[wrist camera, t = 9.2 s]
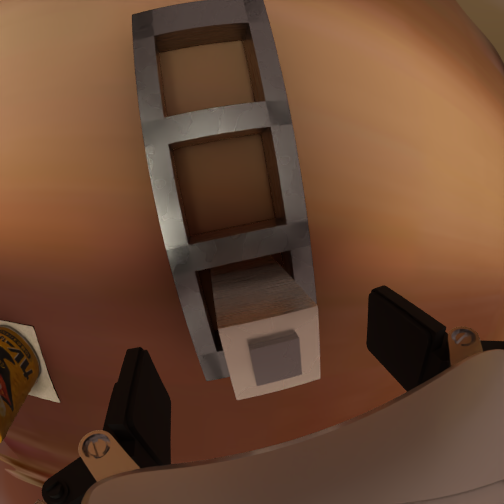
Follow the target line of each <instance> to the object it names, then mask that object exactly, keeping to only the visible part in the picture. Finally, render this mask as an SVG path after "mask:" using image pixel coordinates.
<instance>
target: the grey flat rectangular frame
mask: <svg viewBox="0 0 504 504" xmlns="http://www.w3.org/2000/svg"><path fill="white" fill-rule="evenodd" d="M132 32H133V50H134V64H135V75H136V85H137V95H138V103H139V111H140V119H141V126H142V133H143V139H144V145H145V152H146V157H147V163H148V169H149V174H150V179H151V185H152V190H153V195H154V199H155V204H156V209H157V213H158V218H159V222H160V227H161V231H162V235H163V239H164V243H165V248H166V252H167V255H168V259H169V263H170V267H171V271H172V274H173V278H174V282H175V285H176V289H177V292H178V296H179V299H180V303H181V306H182V309H183V313H184V316H185V319H186V322H187V325H188V329H189V332H190V335H191V338H192V341H193V344H194V347H195V350H196V353H197V356H198V359H199V361H200V364H201V367H202V370H203V373H204V375H205V378H206V381H210V380H215V379H220V378H225V377H230V374H229V370H228V366H227V362H226V359H225V355H224V351H223V347H222V343H221V339H220V335H219V331H218V332H214V329H213V326H212V322H211V319H210V315H209V311H208V307H207V304H206V300H205V296H204V292H203V288H202V284H201V280H200V276H199V272H198V270H202V269H207V268H212V267H216V266H221V265H225V264H230V263H235V262H239V261H244V260H248V259H253V258H257V257H262V256H266V255H271V254H275V253H280V252H281V259H282V266H283V269H284V270H285V271H286V272H287V273H288V274H289V275H290V276H291V277H292V279H293V280H294V281H295V282H296V283H297V284H298V285H299V286H300V287H301V288H302V289H303V290H304V292H305V293H306V294H307V295H308V296H309V297H310V298H311V299H312V300H313V301H314V302H315V303H316V305H317V302H316V291H315V280H314V270H313V261H312V252H311V243H310V235H309V227H308V219H307V212H306V204H305V197H304V191H303V184H302V177H301V171H300V165H299V159H298V153H297V147H296V141H295V136H294V130H293V125H292V120H291V115H290V110H289V105H288V100H287V95H286V90H285V85H284V81H283V76H282V72H281V67H280V63H279V59H278V55H277V50H276V46H275V42H274V38H273V34H272V31H271V27H270V23H269V19H268V16H267V12H266V8H265V5H264V1H263V0H204V1H197V2H190V3H183V4H177V5H172V6H167V7H162V8H157V9H153V10H149V11H145V12H141V13H137V14H133V15H132ZM238 40H242V41H243V46H244V50H245V55H246V60H247V65H248V69H249V74H250V79H251V84H252V89H253V94H254V100H255V102H252V103H244V104H236V105H229V106H222V107H216V108H210V109H204V110H198V111H193V112H188V113H183V114H178V115H174V116H169V117H167V110H166V103H165V96H164V89H163V81H162V73H161V65H160V56H159V53H160V52H164V51H169V50H174V49H179V48H184V47H190V46H196V45H203V44H210V43H218V42H227V41H238ZM255 134H261V137H262V142H263V148H264V154H265V159H266V165H267V171H268V177H269V183H270V189H271V195H272V201H273V207H274V213H275V219H270V220H265V221H260V222H255V223H250V224H245V225H240V226H235V227H230V228H226V229H221V230H216V231H211V232H207V233H202V234H198V235H193V236H190V234H189V229H188V225H187V220H186V215H185V211H184V206H183V201H182V196H181V191H180V186H179V181H178V175H177V170H176V165H175V159H174V154H173V149H177V148H181V147H186V146H191V145H196V144H201V143H206V142H211V141H217V140H222V139H228V138H235V137H241V136H248V135H255ZM319 344H320V343H319Z"/></svg>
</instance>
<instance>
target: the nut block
mask: <svg viewBox="0 0 504 504" xmlns="http://www.w3.org/2000/svg"><path fill="white" fill-rule="evenodd" d="M210 273H211V281H212V289H213V297H214V304H215V311H216V318H217V325H218V331H219V335H220V339H221V343H222V347H223V351H224V355H225V359H226V362H227V366H228V370H229V374H230V377H231V381H232V385H233V388H234V392H235V395H236V399H237V400H240V399H245V398H250V397H254V396H259V395H263V394H267V393H271V392H275V391H279V390H283V389H286V388H290V387H294V386H297V385H301V384H304V383H307V382H311V381H314V380H317V379H320V344H319V320H318V306H317V305H316V303H315V302H314V301H313V300H312V299H311V298H310V297H309V296H308V295H307V294H306V293H305V292H304V290H303V289H302V288H301V287H300V286H299V285H298V284H297V283H296V282H295V281H294V280H293V279H292V277H291V276H290V275H289V274H288V273H287V272H286V271H285V270H284V269H283V268H282V267H281V266H280V265H279V263H278V262H277V261H276V260H275V259H274V258H273V257H272V256H271V255H266V256H262V257H257V258H253V259H248V260H244V261H239V262H235V263H230V264H225V265H221V266H216V267H212V268H210Z"/></svg>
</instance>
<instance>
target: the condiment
mask: <svg viewBox="0 0 504 504" xmlns="http://www.w3.org/2000/svg"><path fill="white" fill-rule="evenodd" d="M37 380H38V381H37ZM36 382H37V383H36ZM28 394H29V395H32V396H38V397H40V398H43V399H47V400H51V401H54V402H59V403H60V401H59V399H58V397H57V394H56V392H55V390H54V388H53V385H52V382H51V380H50V377H49V374H48V371H47V368H46V365H45V362H44V359H43V357H42V353H41V350H40V347H39V344H38V341H37V337H36V334H35V331H34V329H33V327H31V326H26V325H21V324H17V323H11V322H7V321H1V320H0V443H1V442H2V441H3V439H4V438H5V436H6V434H7V431H8V429H9V427H10V426H11V425H12V423H13V421H14V418H15V417H16V415H17V413H18V412H19V409H20V408H21V406H22V404H23V403H24V401H25V399H26V397H27V395H28Z"/></svg>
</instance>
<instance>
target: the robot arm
mask: <svg viewBox="0 0 504 504" xmlns="http://www.w3.org/2000/svg"><path fill="white" fill-rule="evenodd" d="M445 330H446V327H445V326H444V325H443V324H441V323H440V322H438V321H437V320H435V319H434V318H433V317H431V316H430V315H428V314H427V313H425V312H424V311H422V310H421V309H419V308H418V307H417V306H415V305H414V304H412V303H411V302H409V301H408V300H406V299H405V298H403V297H402V296H400V295H399V294H397V293H396V292H394V291H393V290H391V289H390V288H388V287H387V286H380V287H377V288H375V289H373V290H372V291H371V293H370V294H369V302H368V327H367V348H368V350H369V351H370V352H371V353H372V354H373V355H374V356H375V357H376V358H377V359H378V361H379V362H380V363H381V364H382V365H383V366H384V367H385V368H386V369H387V370H388V371H389V372H390V373H391V375H392V376H393V377H394V378H395V379H396V380H397V381H398V382H399V383H400V384H401V385H402V386H403V388H404V389H405V390H406V391H407V392H406V393H404V394H402V395H401V396H399V397H397V398H395V399H393V400H391V401H389V402H387V403H385V404H383V405H381V406H379V407H377V408H374V409H372V410H370V411H368V412H366V413H363V414H361V415H359V416H357V417H354V418H352V419H350V420H347V421H345V422H342V423H340V424H337V425H335V426H332V427H329V428H327V429H324V430H321V431H318V432H315V433H313V434H310V435H307V436H304V437H301V438H297V439H294V440H291V441H287V442H284V443H281V444H277V445H273V446H270V447H266V448H262V449H258V450H254V451H249V452H245V453H240V454H235V455H230V456H225V457H219V458H214V459H208V460H201V461H195V462H187V463H179V464H171V452H170V432H171V401H170V397H169V395H168V393H167V391H166V389H165V387H164V385H163V383H162V381H161V379H160V377H159V375H158V373H157V370H156V368H155V366H154V364H153V362H152V360H151V357H150V355H149V353H148V351H147V350H143V349H142V348H141V347H138V348H132V349H128V350H127V352H126V355H125V358H124V362H123V365H122V368H121V372H120V375H119V379H118V382H117V383H115V385H114V388H113V392H112V395H111V399H110V403H109V407H108V411H107V415H106V419H105V423H104V427H103V431H102V430H97V431H92V432H90V433H88V434H87V435H85V436H84V437H83V438H82V440H81V441H80V444H79V450H78V451H79V454H80V456H81V457H79V458H78V459H76V460H75V461H74V462H72V463H71V464H69V465H68V466H66V467H65V468H64V469H62V470H61V471H59V472H58V473H56V474H55V475H53V476H52V477H50V478H49V479H48V480H47V481H45V483H44V485H43V488H42V496H43V500H42V501H40V500H37V501H36V503H35V504H504V341H480V338H479V335H478V333H477V332H476V331H474V330H473V329H471V328H468V327H462V326H461V327H456V328H453V329H452V330H450V331H449V333H448V334H447V333H446V332H445Z"/></svg>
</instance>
